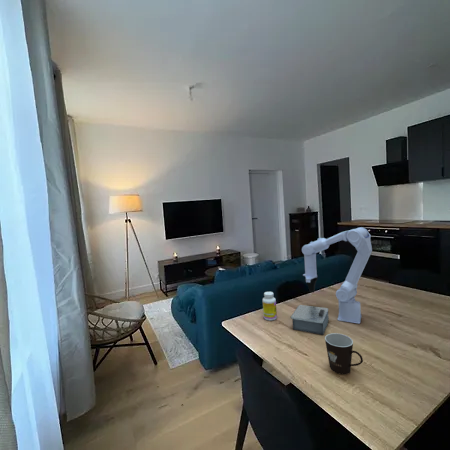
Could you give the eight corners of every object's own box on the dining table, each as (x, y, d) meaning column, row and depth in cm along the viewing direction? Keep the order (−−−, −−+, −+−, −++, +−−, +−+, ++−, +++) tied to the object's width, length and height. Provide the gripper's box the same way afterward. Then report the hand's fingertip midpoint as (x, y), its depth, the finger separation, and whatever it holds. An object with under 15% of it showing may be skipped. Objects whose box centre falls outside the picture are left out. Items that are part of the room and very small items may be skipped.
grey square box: (328, 321, 117) (328, 310, 117) (323, 335, 105) (322, 323, 105) (300, 316, 124) (300, 306, 123) (292, 329, 112) (292, 318, 111)
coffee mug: (321, 362, 88) (320, 334, 87) (344, 359, 88) (343, 332, 88) (339, 385, 76) (338, 353, 75) (366, 381, 77) (364, 350, 76)
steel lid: (328, 309, 117) (328, 306, 117) (322, 323, 104) (322, 319, 104) (298, 306, 124) (298, 302, 124) (290, 318, 112) (290, 314, 111)
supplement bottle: (277, 321, 121) (275, 295, 120) (263, 320, 122) (261, 295, 121) (276, 315, 127) (275, 290, 126) (263, 315, 129) (262, 290, 128)
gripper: (306, 263, 138) (307, 286, 139) (299, 269, 126) (300, 295, 126) (319, 263, 134) (320, 288, 135) (313, 270, 122) (315, 297, 123)
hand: (311, 291), depth 131 cm, fingers closed
